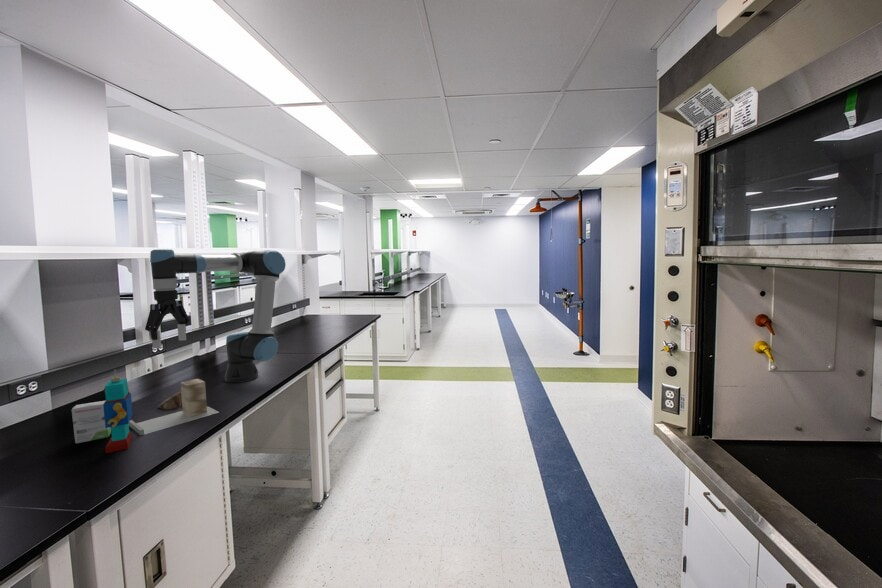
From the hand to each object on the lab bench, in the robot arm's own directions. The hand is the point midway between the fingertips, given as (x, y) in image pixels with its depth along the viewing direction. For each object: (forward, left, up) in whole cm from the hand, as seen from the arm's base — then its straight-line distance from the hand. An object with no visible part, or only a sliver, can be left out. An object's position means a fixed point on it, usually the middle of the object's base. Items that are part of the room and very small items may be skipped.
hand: (170, 344), depth 152 cm
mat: (+3, +10, -27) cm, 29 cm away
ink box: (+26, +5, -27) cm, 38 cm away
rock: (-3, -10, -27) cm, 29 cm away
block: (-3, +10, -27) cm, 29 cm away
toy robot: (+22, +20, -27) cm, 40 cm away
